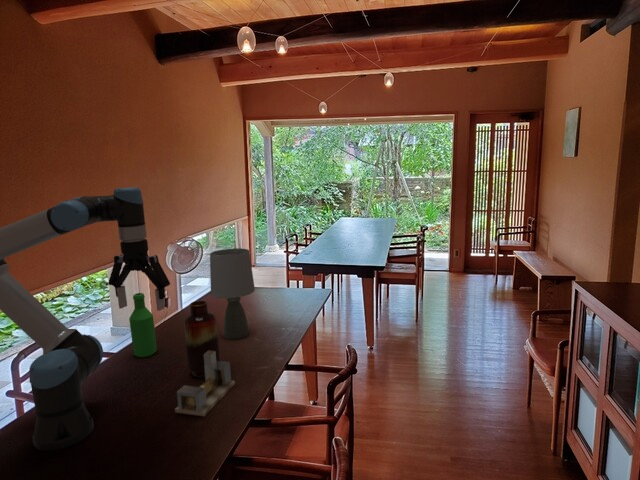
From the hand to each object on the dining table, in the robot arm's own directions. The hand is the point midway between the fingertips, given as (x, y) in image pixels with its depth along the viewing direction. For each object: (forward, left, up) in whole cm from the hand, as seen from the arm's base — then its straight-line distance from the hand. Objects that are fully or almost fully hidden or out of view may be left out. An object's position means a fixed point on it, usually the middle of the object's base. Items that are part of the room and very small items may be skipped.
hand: (141, 308), depth 139 cm
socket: (+15, -15, -30) cm, 37 cm away
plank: (+7, -15, -32) cm, 36 cm away
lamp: (+58, 0, -32) cm, 66 cm away
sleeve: (-1, -15, -31) cm, 34 cm away
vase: (+23, -5, -32) cm, 40 cm away
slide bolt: (+7, -15, -30) cm, 34 cm away
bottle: (+33, +28, -32) cm, 54 cm away
